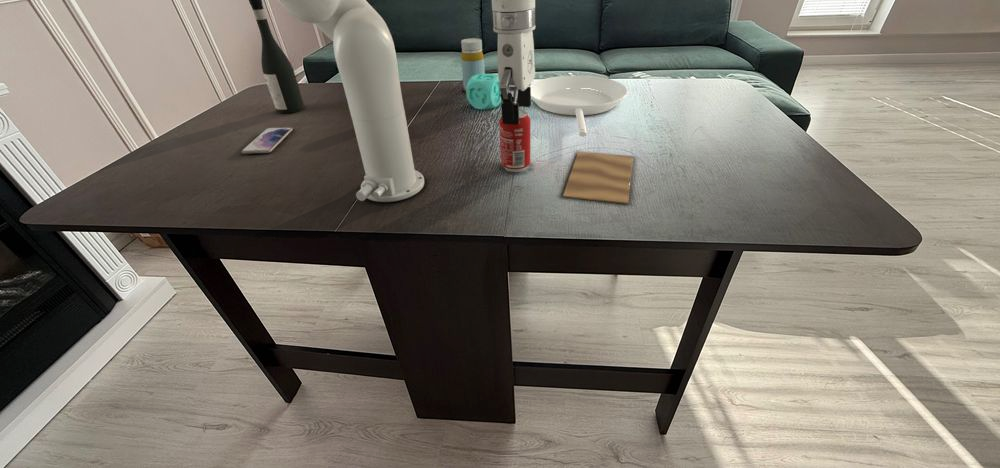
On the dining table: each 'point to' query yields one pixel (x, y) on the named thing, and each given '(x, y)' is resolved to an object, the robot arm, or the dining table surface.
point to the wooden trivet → (600, 177)
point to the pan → (577, 96)
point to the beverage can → (515, 143)
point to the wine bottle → (277, 67)
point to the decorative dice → (484, 91)
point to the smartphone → (267, 140)
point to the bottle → (471, 59)
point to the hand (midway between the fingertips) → (517, 114)
